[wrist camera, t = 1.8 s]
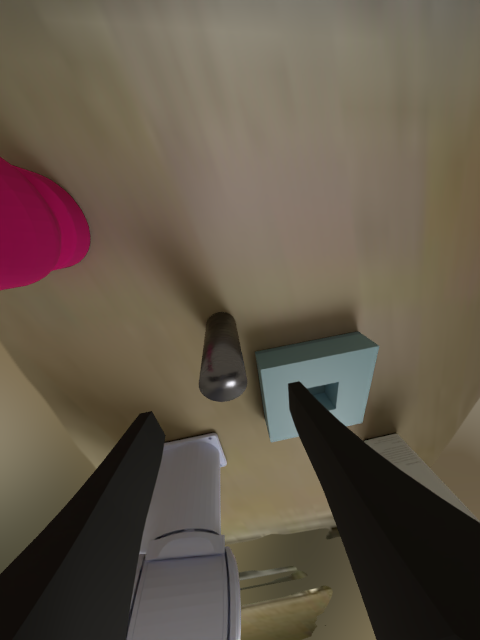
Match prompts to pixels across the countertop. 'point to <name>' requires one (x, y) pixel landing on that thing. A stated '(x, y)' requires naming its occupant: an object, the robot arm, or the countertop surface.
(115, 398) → the countertop surface
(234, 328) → the metal peg
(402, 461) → the skincare box
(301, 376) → the socket block
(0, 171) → the pepper mill
